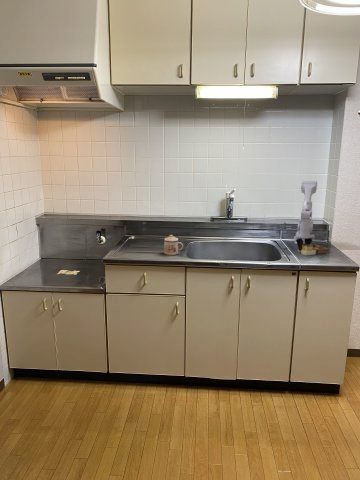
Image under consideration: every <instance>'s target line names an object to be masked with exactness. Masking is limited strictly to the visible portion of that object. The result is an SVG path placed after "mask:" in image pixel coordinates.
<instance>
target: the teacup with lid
mask: <svg viewBox="0 0 360 480" xmlns="http://www.w3.org/2000/svg"><path fill="white" fill-rule="evenodd" d="M163 241H164V243H163V245H164V247H163V249H164V254H165V255H167V256H175V255H178V254H179V251H181V250H182V249H183V247H184V244H183V243H182V241H181V242H179V241H180V240H179V238H178V237H175V236H174V235H173V234H169V236H167V237H165V238H164V239H163ZM179 244H180V245H181V248H179Z"/></svg>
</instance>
